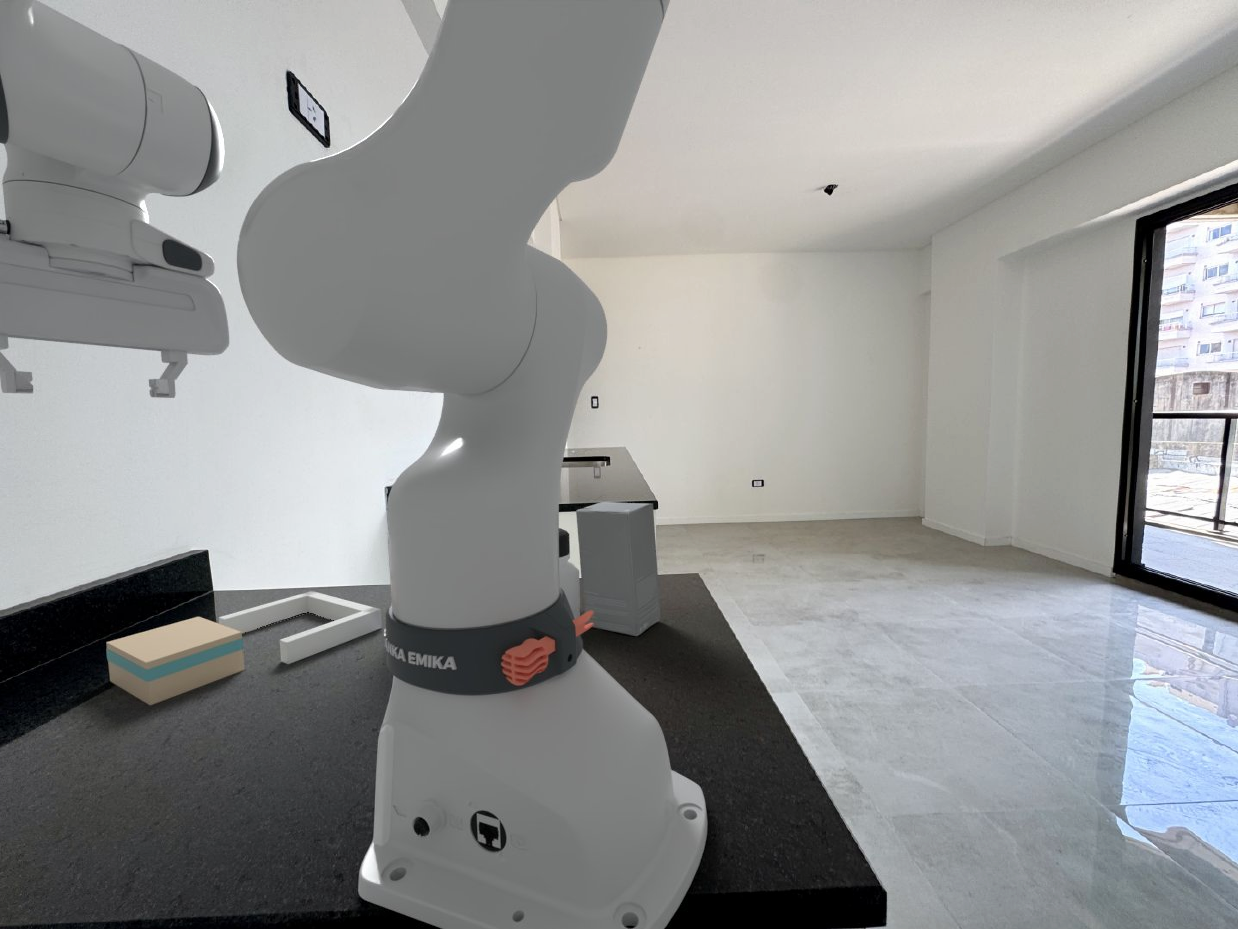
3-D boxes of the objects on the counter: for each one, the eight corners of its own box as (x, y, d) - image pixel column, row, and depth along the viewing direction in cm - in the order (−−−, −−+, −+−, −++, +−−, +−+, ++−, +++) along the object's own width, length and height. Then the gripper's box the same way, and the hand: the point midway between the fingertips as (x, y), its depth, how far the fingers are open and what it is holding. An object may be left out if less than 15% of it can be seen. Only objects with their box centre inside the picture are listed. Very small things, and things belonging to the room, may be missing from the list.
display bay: (381, 627, 67) (380, 609, 66) (288, 664, 57) (286, 642, 56) (312, 607, 75) (311, 591, 74) (220, 636, 65) (218, 617, 64)
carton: (245, 672, 56) (242, 631, 55) (149, 708, 49) (145, 663, 48) (202, 653, 61) (198, 616, 60) (109, 683, 54) (105, 642, 53)
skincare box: (661, 621, 67) (660, 502, 66) (633, 641, 61) (631, 510, 60) (608, 610, 72) (605, 498, 70) (577, 627, 66) (574, 505, 64)
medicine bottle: (569, 604, 74) (566, 523, 73) (581, 622, 67) (578, 532, 66) (519, 610, 72) (516, 527, 71) (526, 629, 65) (523, 537, 64)
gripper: (-117, 182, 34) (-93, 389, 36) (232, 263, 52) (240, 399, 53) (-129, 201, 38) (-107, 390, 39) (204, 271, 55) (212, 399, 57)
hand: (96, 395), depth 46 cm, fingers open, 8 cm apart
